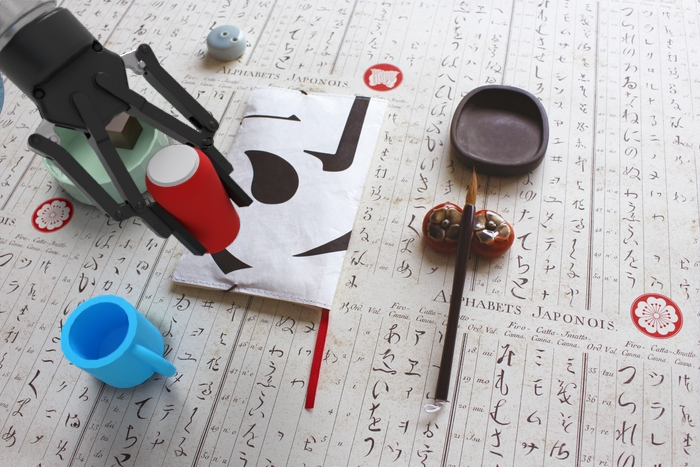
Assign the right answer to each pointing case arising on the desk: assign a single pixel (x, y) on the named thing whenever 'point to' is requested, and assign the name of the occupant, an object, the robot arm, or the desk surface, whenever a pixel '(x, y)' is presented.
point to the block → (124, 131)
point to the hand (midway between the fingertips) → (223, 227)
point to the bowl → (88, 159)
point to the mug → (114, 342)
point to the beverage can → (193, 195)
